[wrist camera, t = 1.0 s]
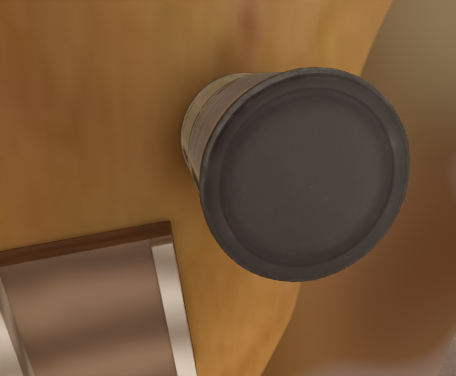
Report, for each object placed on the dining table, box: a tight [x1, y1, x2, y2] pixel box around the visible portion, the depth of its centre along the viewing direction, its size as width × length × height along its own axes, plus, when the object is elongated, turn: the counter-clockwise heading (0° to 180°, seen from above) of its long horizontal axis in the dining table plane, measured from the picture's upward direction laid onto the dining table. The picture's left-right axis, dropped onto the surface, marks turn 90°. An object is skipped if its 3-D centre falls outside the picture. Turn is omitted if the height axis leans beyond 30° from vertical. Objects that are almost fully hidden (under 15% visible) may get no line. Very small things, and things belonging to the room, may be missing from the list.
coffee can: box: [181, 67, 410, 282], centre depth 24 cm, size 10×10×14 cm
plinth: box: [0, 221, 197, 376], centre depth 31 cm, size 14×14×4 cm
